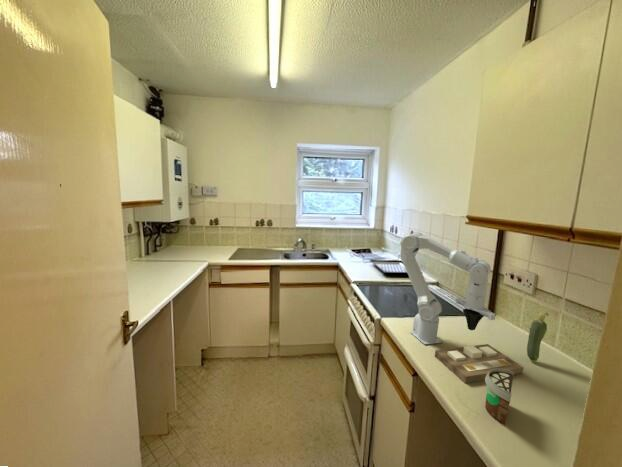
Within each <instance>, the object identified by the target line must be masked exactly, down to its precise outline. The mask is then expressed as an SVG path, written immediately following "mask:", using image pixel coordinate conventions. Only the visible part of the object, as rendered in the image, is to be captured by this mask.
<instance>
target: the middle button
mask: <svg viewBox="0 0 622 467" xmlns="http://www.w3.org/2000/svg"><path fill="white" fill-rule="evenodd" d="M474 346H475V345H467V346H466V345H465V346H463V347H464V351H463V352H464V353H465V354H466V355H468V356H469V357H470V358H472V359H477V358H481V357H482V352H481V351H480V350H479V349H477V348H476V347H474Z"/></svg>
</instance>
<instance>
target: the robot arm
mask: <svg viewBox="0 0 622 467" xmlns="http://www.w3.org/2000/svg"><path fill="white" fill-rule="evenodd" d="M399 244H400V260H401V262H402V264H403V267H404V269H405V271H406V273H407V275H408V278H409V280H410V283H411V285H412V288H413V289H414V292H415V294H416V296H417V304H416V305H417V307H418V313H417V314H416V315H415V316H414V318H413V321H412V322H413V323H412V331H411V330H410V334H412V335H413V336H414V337H415V338H416V339H417V340H418V341H420V342H421V343H422V344H423V345H433V344H441V343H442V341H441V340H440V339H439V338H438V337H437V336H438V331H439V325H440V324H439V323H440V317H439V315H440V314H441V313H442V311H443V307H442V304H441V303H440V301H438V300H437V298H436V296H435V294H432V293H431V290H430V288H429V286H428V284H427V282H426V279H425V277H424V275H423V273H422V270H421V268H420V266H419V262H418V261H417V259H416V256H417V254H418V251H419V250H420V249H421V250H422V249H423V250H424V249H426V250H427V249H428V250H431V251H433V252H434V253H437V254H440V255H441V256H443V257H446V258H447V259H448V260H449V263H450V264H451V265H453V266H456V267H457V268H459V269H461V270H463V271H464V272H466V273H468V274H469V280H468V286H467V294H466V298H465V299H464V298H462V297H456V300H455V304H458V305H461V306H464V309H462V313H463V314H464V317H465V320H466V324H467V329H468V330H470V331H475V330H476V328H477V326H478V324H479V322H480V321H481V320H482V319H483V318H484V317H486V318H487V319H488V320H490V321H493V320H496V313H494V312H492V311H491V310H489V308H487V307H486V306H485V304H486V297H487V290H488V284H489V283H488V282H489V274H490V273H491V269H492V268H491V265H490V264H489V262H487V261H486V260H484V259H479V257H475V256H472V255H470V254H468V253H466V251H465V250H464V249H462V250H460V249H454V250H453V249H452V248H449V247H448V246H446V245H444V244H442V243H440V242H439V241H437V240H435V239H433V237H430V236H428V235H426V234H423V233H421V232H417V231H416V232H414V233H409V234H406V235H404V236H403V237H402V239H401V241H400V243H399Z"/></svg>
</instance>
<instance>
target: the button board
mask: <svg viewBox="0 0 622 467" xmlns="http://www.w3.org/2000/svg"><path fill="white" fill-rule="evenodd" d="M473 346H474V347H476V348H477V349H479V347H487V346H488V347H489V348H491V349H492V350H494V351H495V352H497V356H491V357H488V356H486V355H485V354H483V353H482V357H481V358H477V359H472V358H470V357H469V356H468V355H466V354H465V353H464V352H463V351H464V347H465V346H461V347H454V348H453V347H452V348H445V349H437V350H434V351H435V352H434V357H435V358H436V359H437V360H438V361H439V362H440V361H441V362H442V363H441V362H440V363H441V364H442V365H443V366H444V367H446V368H447V369H448V370H449V371H450V372H452V373H453V374H454V375H455V376H456V377H457V378H458V379H459V380H461V381H462V382H463V383H464V384H470V383H475V382H476V383H477V382H481V381H485V377H486V375H487V374H488V372H489V371H490V370H492V369H505V370H509V371H512V372H514V376H517V375H523V372H524V370H525V369H524V368H525V367H523V366H522V365H521V364H520V363H518V362H516V361H514V360H513V359H512V358H510V357H508V356H507V355H506V354H503V352H501V351H499V350H498V349H496V348H495V347H493V346H491V344H488V343H485V344H478V345H477V344H476V345H473ZM456 350H457V351H458V352H460V353H461V354H462V355H464V356H465V357H466V359H465V360H462V361H455V360H454V359H452V358H451V357H450V356H449V355H447V353H448V351H456Z"/></svg>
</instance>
